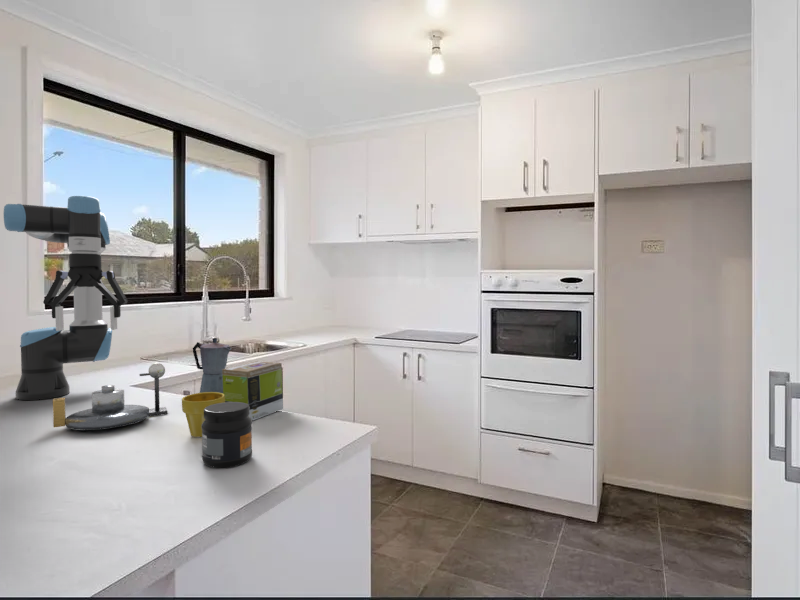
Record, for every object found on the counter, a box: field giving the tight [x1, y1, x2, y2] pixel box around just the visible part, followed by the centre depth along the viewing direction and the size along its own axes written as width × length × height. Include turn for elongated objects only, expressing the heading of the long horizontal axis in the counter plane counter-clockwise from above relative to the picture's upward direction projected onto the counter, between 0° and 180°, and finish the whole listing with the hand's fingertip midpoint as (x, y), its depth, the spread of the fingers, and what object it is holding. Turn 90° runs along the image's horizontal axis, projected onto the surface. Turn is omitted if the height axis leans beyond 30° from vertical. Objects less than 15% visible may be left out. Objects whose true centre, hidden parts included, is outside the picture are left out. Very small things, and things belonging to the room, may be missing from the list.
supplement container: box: [201, 402, 253, 469], centre depth 108 cm, size 10×10×12 cm
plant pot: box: [181, 392, 225, 438], centre depth 127 cm, size 10×10×10 cm
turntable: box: [52, 397, 150, 431], centre depth 135 cm, size 20×22×7 cm
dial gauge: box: [138, 362, 169, 417], centre depth 146 cm, size 5×7×15 cm
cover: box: [91, 384, 125, 413], centre depth 141 cm, size 8×8×7 cm
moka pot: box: [192, 337, 232, 393], centre depth 170 cm, size 10×15×20 cm, turn 78°
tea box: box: [222, 360, 284, 421], centre depth 145 cm, size 15×10×15 cm, turn 154°
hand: (87, 330), depth 136 cm, fingers open, 13 cm apart
